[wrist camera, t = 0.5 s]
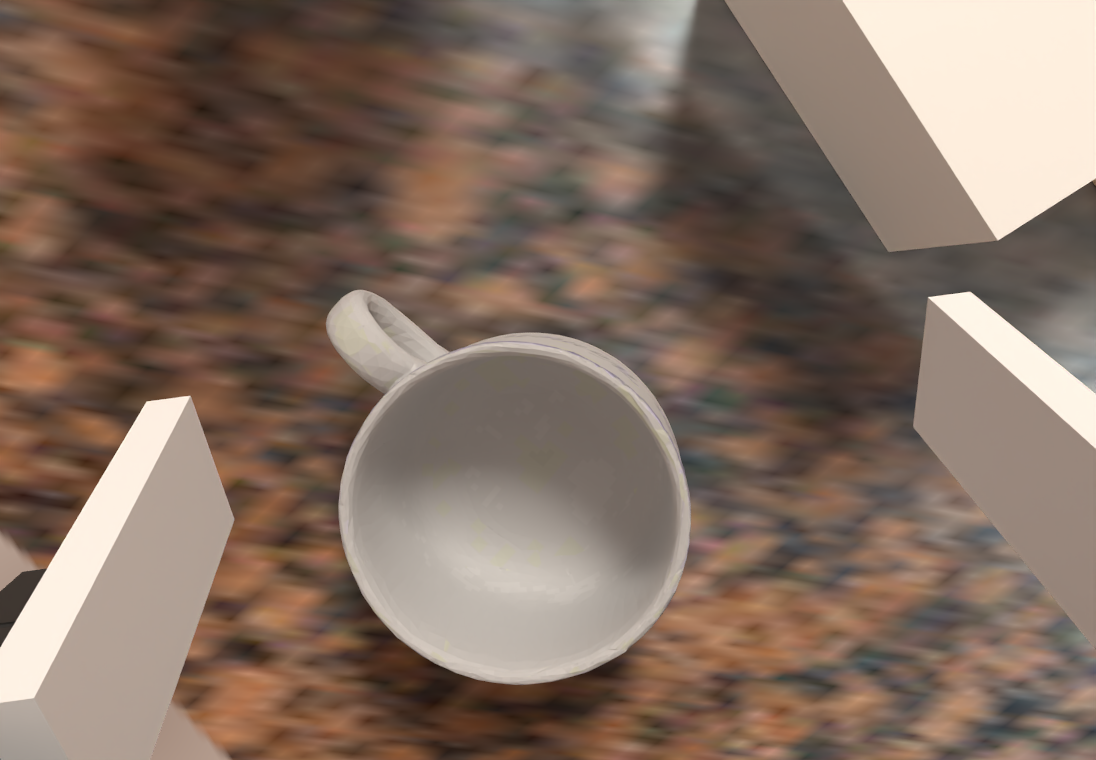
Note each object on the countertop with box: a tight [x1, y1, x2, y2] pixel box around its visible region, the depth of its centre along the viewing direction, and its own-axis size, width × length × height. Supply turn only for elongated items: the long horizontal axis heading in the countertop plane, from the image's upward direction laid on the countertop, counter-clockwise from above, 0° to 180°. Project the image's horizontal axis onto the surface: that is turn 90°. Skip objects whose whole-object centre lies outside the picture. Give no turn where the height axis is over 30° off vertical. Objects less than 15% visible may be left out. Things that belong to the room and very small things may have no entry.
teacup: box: [326, 290, 691, 685], centre depth 31 cm, size 14×11×8 cm
